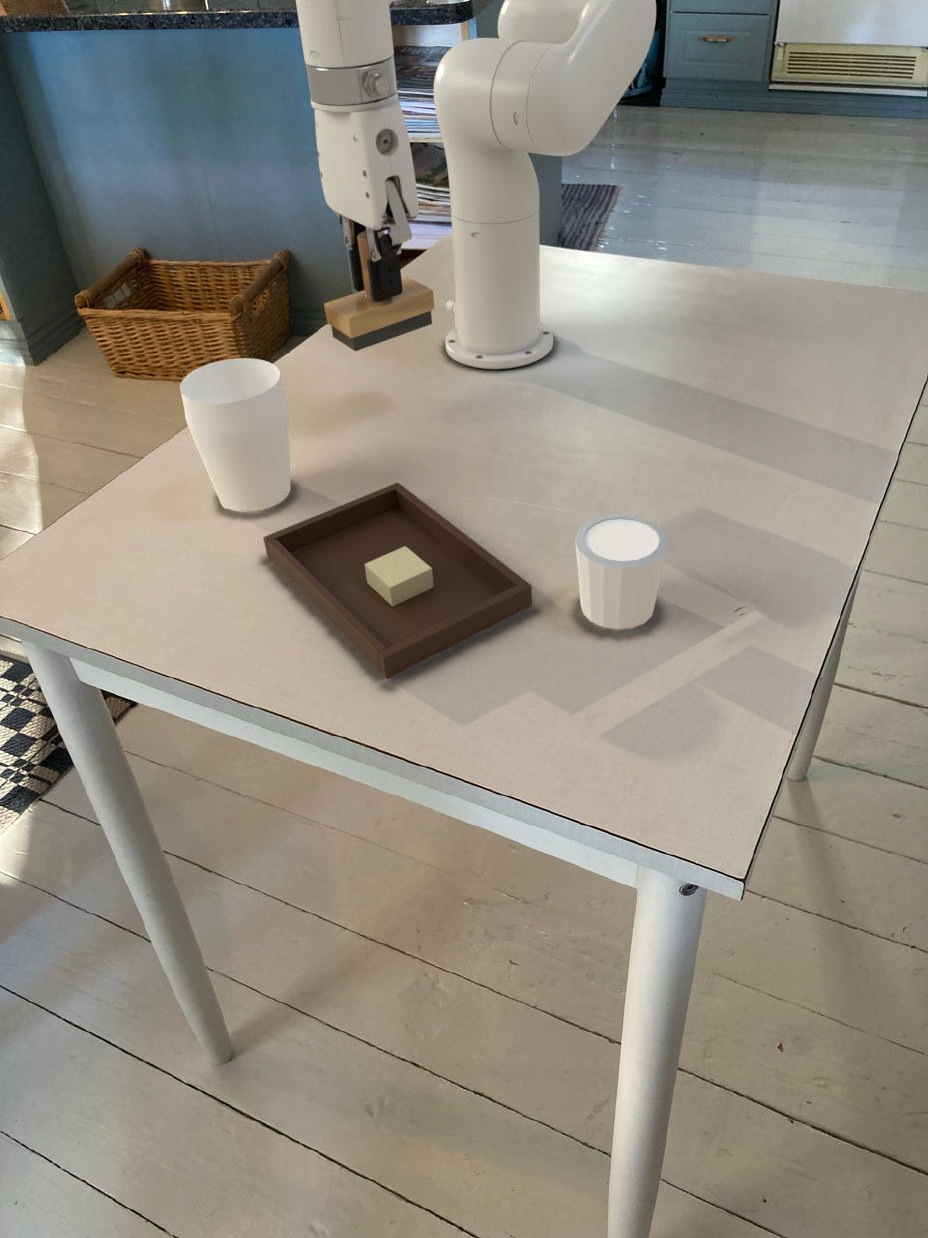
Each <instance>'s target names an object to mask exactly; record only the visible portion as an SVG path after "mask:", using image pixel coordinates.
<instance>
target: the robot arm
mask: <svg viewBox="0 0 928 1238" xmlns="http://www.w3.org/2000/svg"><path fill="white" fill-rule="evenodd" d="M397 1H398V2H399V1H401V0H295V4H296V11H297V18H298V25H299V32H300V33H299V34H300V40H301V46H302V52H303V58H304V66H305V72H306V73H305V74H306V80H307V87H308V93H309V99H310V106H311V108H313V109H314V125H315V126H314V127H315V138H316V139H315V140H316V150H317V158H318V159H317V160H318V167H319V175H320V182H321V187H322V192H323V196H324V199H325V203H326V204H327V206H328V207H329V208H330V209H331V211H332V212H333V213H334V214H335V216H336V217H337V219H338V222H339V224H340V225H341V228H342V231H343V238H344V244H345V246H346V248H347V249H348V258H349V264H350V273H351V279H352V280H351V281H352V288H353V289H354V290H355V291H357V292H361V291H364V284H363V276H362V269H361V261H360V254H359V246H358V239H357V236H358V234H359V233H361V232H364V231H366V232H367V239H368V245H369V251H370V256H371V259H368V260H367V266H368V274H369V281H370V289H371V297H372V300H374V301H376V302H380V301H382V300H385V299H388V298H391V297H394V296H397V295H400V294H401V293H402V291H403V289H402V280H401V278H402V272H401V271H402V270H401V263H400V262H401V261H400V255H401V254H402V245H403V244H404V243H406V242H408V241H410V240H412V238H413V232H412V229H411V227H410V226H411V225H410V224H409V221H413V220H416V219H417V218H418V217H419V212H420V209H419V198H418V197H419V196H418V190H417V189H418V188H417V182H416V174H415V166H414V160H413V159H414V158H413V154H412V149H411V143H410V137H409V132H408V128H407V123H406V120H405V115H404V112H403V108H402V105H401V102H400V101H398V99H399V94H398V82H397V73H396V72H397V71H396V62H395V61H396V60H395V52H394V50H395V49H394V42H393V41H394V40H393V31H392V29H393V28H392V20H391V11H390V10H391V9H390V6H391V4H392V3H393V2H397ZM656 21H657V2H656V0H504V1H503V3H502V6H501V8H500V12H499V14H498V20H497V34H498V37H476V38H471V39H466V40H463V41H461V42H458V43H457V44H455V45H453V46H452V47H451V48H450V49H448V50H447V51H446V53H445V54H444V55H443V56H442V58H441V60H440V61H439V63H438V65H437V68H436V72H435V74H434V80H433V92H432V93H433V103H434V104H433V105H434V111H435V114H436V120H437V124H438V128H439V132H440V136H441V140H442V144H443V148H444V155H445V161H446V165H447V166H446V167H447V175H448V185H449V186H448V188H449V202H450V215H451V217H450V218H451V219H450V220H451V234H452V251H453V269H454V284H455V287H454V288H455V298H454V300H453V299H449V300H448V301H447V302H446V304H445V309H446V311H448V313H449V312H450V313H451V314H453V315H454V326H455V327H453V328H452V329H451V330H450V331H449V332H448V333H447V334H446V336H445V341H444V343H445V351H446V353H447V355H448V356H449V357H450V358H451V359H452V360H454V361H456V362H458V363H460V364H462V365H465V366H468V367H472V368H477V369H478V368H479V369H484V370H485V369H486V370H505V369H513V368H518V367H519V368H520V367H522V366H523V367H524V366H527V365H530V364H532V363H535V362H537V361H539V360H541V359H543V358H544V357H546V356H547V355H548V354H549V353H550V352H551V351H552V350H553V346H554V334H553V331H552V330H551V329H550V327H548V326H547V325H546V324H544V323H543V322H541V283H540V281H541V280H540V279H541V278H540V277H541V275H540V273H541V270H540V269H541V267H540V265H541V263H540V262H541V260H540V259H541V258H540V255H541V254H540V252H541V251H540V247H541V245H540V244H541V243H540V241H541V240H540V239H541V238H540V237H541V235H540V234H541V233H540V231H541V230H540V229H541V227H540V197H541V196H540V187H539V181H538V176H537V172H536V170H535V167H534V164H533V162H532V160H531V157H530V155H529V153H530V154H537V155H543V156H553V157H569V156H573V155H575V154H577V153H579V152H582V151H583V150H584V149H585V148H586V147H587V146H589V144H590V143H591V142H593V140H594V139H595V138H596V136H597V135H598V134H599V132H600V130H601V129H602V128H603V126H604V124H605V123H606V122H607V120H608V119H609V117H610V115H611V114H612V112H613V111H614V109H615V108H616V107H617V105H618V103H619V102H620V100H621V99H622V97H623V96H624V95H625V92H626V91H627V90H628V89H629V87H630V85H631V83H632V82H633V81H634V79H635V78H636V76H637V75H638V72H639V71H640V69H641V68H642V66H643V64H644V62H645V60H646V58H647V55H648V54H649V51H650V48H651V44H652V42H653V38H654V33H655V27H656ZM384 217H386V219H383V218H384ZM382 231H383V232H384V231H387V233H385V235H382V237H381V239H380V240H379V238H378V233H379V232H382Z"/></svg>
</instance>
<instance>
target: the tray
mask: <svg viewBox="0 0 928 1238" xmlns="http://www.w3.org/2000/svg"><path fill="white" fill-rule="evenodd" d="M262 538H263V543H264V547H265V553H266V556H267V558H268V559H269V560H270V561H271V563H273V564H274V565H275V567H276V568H278V569H279V571H280V572H281V573H283V574H284V575H285V577H286V578H287V579H289V581H290V582H291V583H292V584H293V585H294V586H295V587H296V589H298V590H299V591H300V592H301V594H303V595H304V597H306V598H307V599H308V600H309V602H311V603H312V604H313V606H315V608H316V609H317V610H318V611H319V612H320V613H322V615H323V616H324V617H325V618H326V620H328V621H329V622H330V623H331V624H332V625H333V626H334V627H335V628H336V629H337V630H338V631H339V632H340V633H341V635H342V636H344V637H345V638H346V639H347V640H348V642H350V644H352V645H353V647H355V648H356V649H357V651H358V652H359V653H360V654H361V655H362V656H363V657H364V658H365V659H366V660H367V661H368V662H369V664H371V665H372V666H373V667H374V668H375V669H376V670H377V671H378V672H379V673H380V674H381V675H382V676H383V677H384V678H385V679H386V680H388V679H389V678H392V677H393V676H395V675H397V674H399V673H401V672H404V671H405V670H407V669H409V668H411V667H413V666H415V665H417V664H419V663H421V662H424V661H425V660H427V659H429V658H431V657H434V656H436V655H437V654H439V653H441V652H443V651H445V650H447V649H449V648H451V647H453V646H455V645H457V644H459V643H461V642H463V641H465V640H468V639H470V638H471V637H473V636H475V635H478V634H479V633H481V632H483V631H485V630H487V629H489V628H491V627H493V626H495V625H497V624H499V623H501V622H503V621H505V620H507V619H509V618H511V617H512V616H515V615H517V614H519V613H521V612H523V611H525V610H527V609H528V608H531V607H532V606H533V589H532V587H533V586H532V584H530V583H529V582H528V581H526V579H524V578H523V577H522V576H520V575H519V574H517V573H516V572H515V571H513V569H511V568H510V567H508V566H507V565H506V564H504V563H503V562H502V561H501V560H499V559H498V558H497V557H495V556H494V555H493V554H492V553H491V552H489V551H487V550H486V548H484V547H483V546H481V545H480V544H479V543H477V542H476V541H475V540H474V539H472V538H471V537H469V536H468V535H467V534H466V533H464V531H462V530H461V529H459V528H458V527H457V526H456V525H454V524H453V523H452V522H451V521H449V520H447V518H445V517H444V516H443V515H441V514H440V513H439V512H437V511H436V510H435V509H433V508H432V507H431V506H429V504H427V503H426V502H424V501H423V500H422V499H420V498H419V497H418V496H416V494H414V493H413V492H411V491H410V490H409V489H408V488H406V487H405V486H403V485H402V484H401V483H399V482H394V483H392V484H390V485H387V486H385V487H382V488H380V489H378V490H375V491H373V492H371V493H368V494H365V495H363V496H361V497H357V498H356V499H354V500H351V501H348V502H346V503H344V504H342V505H338V506H336V507H334V508H331V509H329V510H326V511H323V512H322V513H320V514H316V515H314V516H311V517H309V518H306V519H305V520H302V521H299V522H297V523H294V524H293V525H290V526H287V527H285V528H282V529H280V530H278V531H275V532H273V533H270V534H268V535H265V536H263V537H262ZM404 546H406V547H407V548H408V549H410V550H411V551H412V552H413V553H414V554H416V555H417V556H418V557H419V558H420V559H422V560H423V561H424V562H425V563H426V564H427V565H429V566H430V567H431V568H432V575H433V586H434V587H433V588H431V589H429V590H427V591H425V592H423V593H421V594H418V595H416V596H414V597H412V598H410V599H408V600H406V601H404V602H401V603H399V604H397V605H395V606H391V605H390V604H389V603H388V602H387V601H386V600H385V599H384V598H383V597H382V596H381V595H380V594H379V593H378V592H376V591H375V590H374V589H373V588H372V587H371V586H370V585H369V584H368V583H367V577H366V570H365V564H366V563H368V562H370V561H373V560H375V559H377V558H379V557H382V556H384V555H386V554H388V553H391V552H393V551H395V550H398V549H400V548H402V547H404Z"/></svg>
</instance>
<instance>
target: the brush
mask: <svg viewBox="0 0 928 1238" xmlns="http://www.w3.org/2000/svg"><path fill="white" fill-rule="evenodd" d="M385 234H386V233H385V232H384V231H382V232H379V233H378V238H379V240H380V239H381V237H382V235H385ZM357 239H358V246H359V254H360V261H361V269H362V276H363V284H364V290H363V291H357V292H355V293H352V294H348V295H346V296H343V297H339V298H336V299H333V300H331V301H327V302H325V303H323V305H324V312H325V318H326V324H328V325H330V326H331V332H332V333H331V334H332V337H333V339H336V340H337V341H339V342H340V343H342V344H343V345H344V346H346V347H348V348H349V349H351V350H353V352H358V351H361V350H363V349H366V348H369V347H372V346H374V345H377V344H380V343H382V342H385V341H389V340H391V339H394V338H397V337H399V336H400V337H401V336H403V335H405V334H408V333H411V332H415V331H416V330H419V329H421V328H425V327H427V326H431V325H433V317H432V311H433V310H435V299H434V297H435V296H434V289H432V288H430V287H427V286H426V285H424V284H422V283H420V282H418V281H417V280H414V279H413V278H410V277H408V276H403V277H401V280H402V289H403V291H402V293H401V294H400V295H397V296H394V297H391V298H388V299H385V300H382V301H380V302H376V301H374V300H372V297H371V289H370V281H369V274H368V266H367V260H368V259H371V256H370V251H369V245H368V239H367V232H366V231H364V232H361V233H359V234H358V236H357Z"/></svg>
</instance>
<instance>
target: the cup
mask: <svg viewBox="0 0 928 1238" xmlns="http://www.w3.org/2000/svg"><path fill="white" fill-rule="evenodd" d="M179 390H180V394H181V400H182V405H183V411H184V417H185V422H186V424H187V427H188V430H189V432H190V435H191V437H192V439H193V441H194V444H195V446H196V448H197V451H198V453H199V456H200V458H201V460H202V463H203V465H204V467H205V469H206V472H207V474H208V476H209V479H210V481H211V484H212V486H213V488H214V490H215V493H216V496H217V498H218V500H219V502H220V505H221V506H222V508H223V509H225V510H228V509H229V510H231V511H235V512H241V513H251V512H259V511H263V510H268V509H270V508H272V507H274V506H276V505H278V504H280V503H281V502H283V501H285V499H286V498H287V497H289V494H290V492H291V456H290V455H291V454H290V452H291V451H290V423H289V422H290V421H289V420H290V419H289V402H288V399H287V395H286V392H285V387H284V384H283V380H282V376H281V372H280V369H279V367H277V366H276V365H275V364H274V363H271V362H270V361H266V360H263V359H260V358H259V359H258V358H250V357H249V358H248V357H240V358H239V357H238V358H237V357H236V358H228V359H222V360H217V361H214V362H210V363H207V364H204V365H202V366H200V367H198V368H195V369H194V370H192V371H191V372H189V373H188V374H187V375H186V376H185V377H183V379H182V381H181V382H180V384H179Z"/></svg>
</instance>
